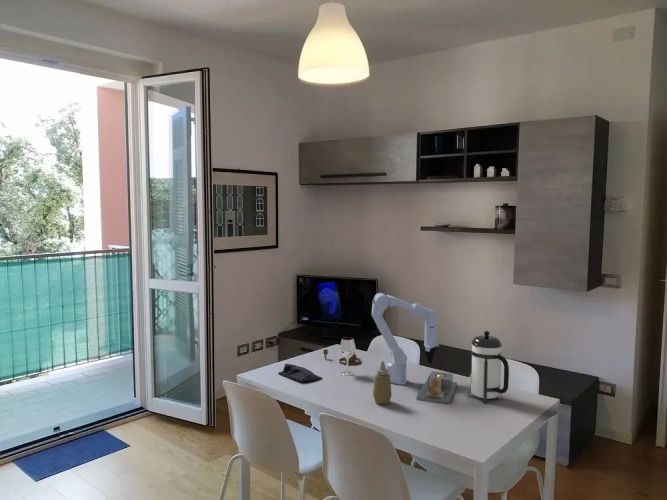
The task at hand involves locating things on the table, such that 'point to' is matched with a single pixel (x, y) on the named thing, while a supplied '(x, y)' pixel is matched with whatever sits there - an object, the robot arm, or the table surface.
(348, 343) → the wineglass
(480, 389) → the coffee press
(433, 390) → the oak block
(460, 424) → the table surface
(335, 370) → the table surface
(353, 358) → the place setting
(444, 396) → the base
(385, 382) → the squeeze bottle
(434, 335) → the robot arm
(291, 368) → the dark grey cloth
